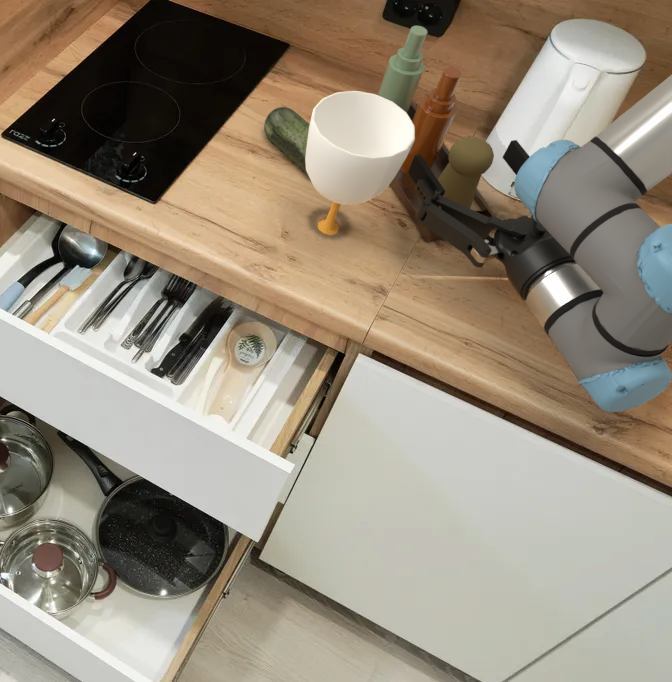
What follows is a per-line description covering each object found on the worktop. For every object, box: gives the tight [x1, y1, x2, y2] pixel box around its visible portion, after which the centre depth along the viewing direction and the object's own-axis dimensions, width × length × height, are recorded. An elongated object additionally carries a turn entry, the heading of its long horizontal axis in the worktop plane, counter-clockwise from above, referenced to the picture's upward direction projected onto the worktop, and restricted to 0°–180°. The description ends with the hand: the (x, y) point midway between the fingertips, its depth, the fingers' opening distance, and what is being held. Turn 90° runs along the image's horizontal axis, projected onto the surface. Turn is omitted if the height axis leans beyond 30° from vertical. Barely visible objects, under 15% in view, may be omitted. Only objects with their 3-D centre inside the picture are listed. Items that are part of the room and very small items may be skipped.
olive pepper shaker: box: [438, 135, 495, 209], centre depth 102 cm, size 6×6×11 cm
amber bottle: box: [400, 66, 462, 176], centre depth 105 cm, size 5×5×15 cm
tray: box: [389, 100, 498, 243], centre depth 111 cm, size 27×10×2 cm, turn 16°
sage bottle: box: [376, 25, 428, 113], centre depth 110 cm, size 5×5×15 cm
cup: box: [305, 90, 415, 236], centre depth 96 cm, size 12×12×17 cm
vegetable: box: [263, 106, 310, 176], centre depth 109 cm, size 14×5×5 cm, turn 36°
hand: (462, 155), depth 101 cm, fingers open, 13 cm apart
